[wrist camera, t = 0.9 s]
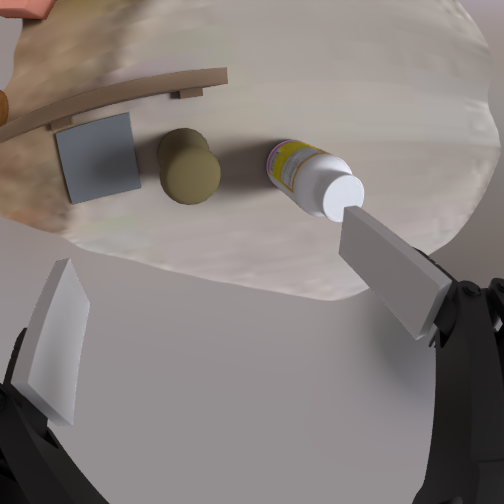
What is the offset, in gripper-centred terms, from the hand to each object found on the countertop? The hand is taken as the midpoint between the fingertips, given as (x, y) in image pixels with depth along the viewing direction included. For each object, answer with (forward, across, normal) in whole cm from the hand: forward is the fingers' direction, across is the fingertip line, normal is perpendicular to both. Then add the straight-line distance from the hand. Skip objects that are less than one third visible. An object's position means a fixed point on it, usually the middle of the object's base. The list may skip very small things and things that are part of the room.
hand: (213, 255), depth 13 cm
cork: (+22, 0, 0) cm, 23 cm away
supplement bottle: (+23, +13, -3) cm, 26 cm away
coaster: (+22, -10, +2) cm, 24 cm away
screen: (+22, -6, +8) cm, 24 cm away
